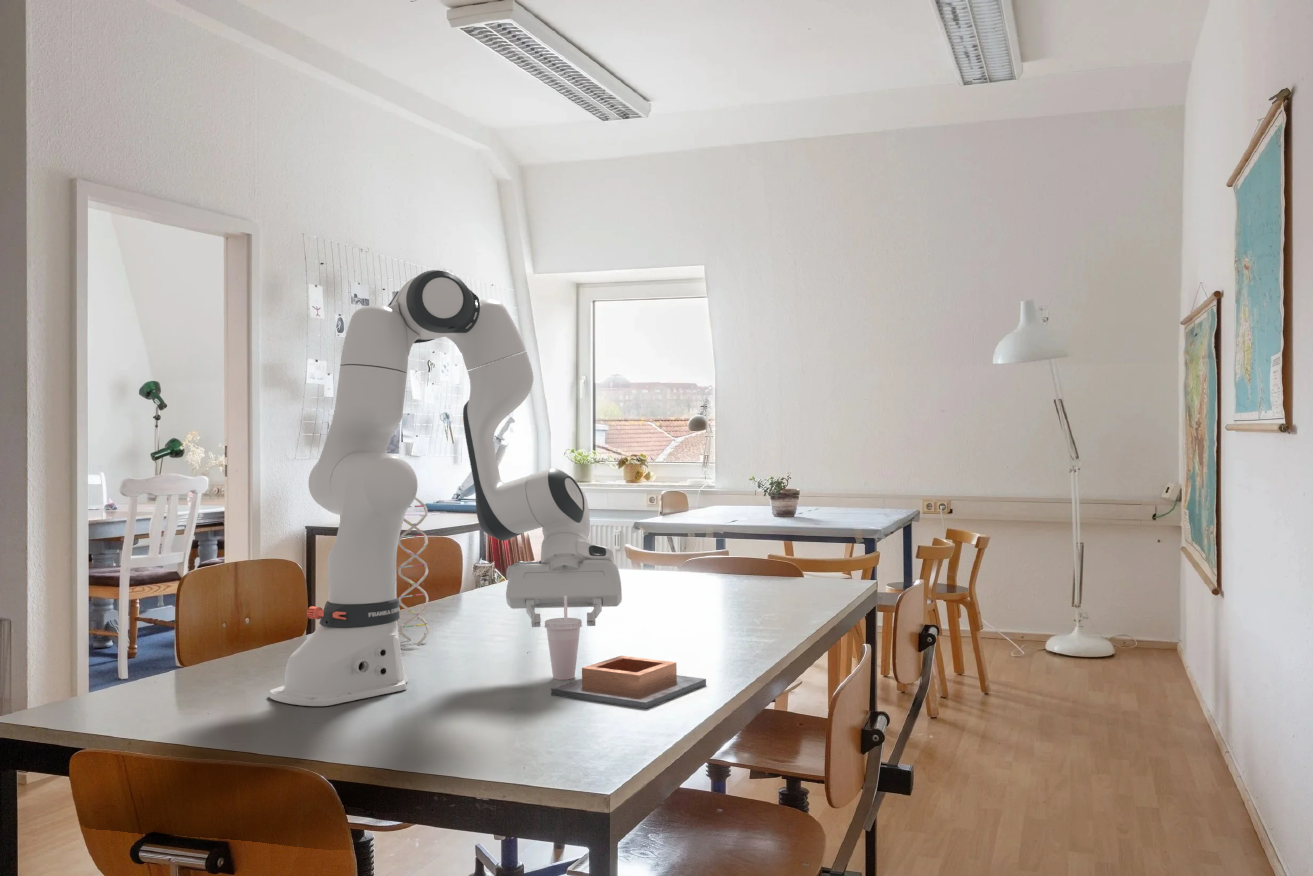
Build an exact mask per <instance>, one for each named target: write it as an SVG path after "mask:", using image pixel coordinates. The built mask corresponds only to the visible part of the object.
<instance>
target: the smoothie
mask: <svg viewBox="0 0 1313 876" xmlns="http://www.w3.org/2000/svg"><path fill="white" fill-rule="evenodd" d="M563 616H564V617H557V618H556V617H555V618H549V619H546V620H545V621H544V628H545V629H546V633H547V635H546V636H547V642H548V650H549V658H550V663H551V671H552V679H554V680H558V681H560V680H563V681H564V680H573V679H575V678H576V671H577V670H576V668H577V660H578V659H577V658H578V649H579V643H580V642H579V641H580V630H581V628H582V627H583V624H582V619H580V618H577V617H568V607H567V595H564V608H563Z"/></svg>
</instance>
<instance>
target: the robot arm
mask: <svg viewBox="0 0 1313 876" xmlns="http://www.w3.org/2000/svg"><path fill="white" fill-rule="evenodd" d="M441 338H447V339H448V340H450V341H452V343H454V345H456V347H457V348H458V350H459V352H460V354H461V355H462V359H463V362H464V365H465V367H466V371H467V374H468V377H469V384H470V389H469V390H470V391H469V397H468V398H469V399H468V400H467V401H466V403H465V404H464V405H463V411H462V421H463V427H464V428H463V429H464V436H465V442H466V448H467V453H468V458H469V465H470V469H471V474H472V480H473V486H474V492H475V493H474V494H475V511H476V516H477V521H478V523H479V526H480V528H481V530H482V531H483V532H484V533H485V534H487V535H488V536H490V537H491V538H494V539H496V540H498V541H502V542H505V541H507V540H510V539H513V538H515V537H518V536H521V535H522V534H524V533H527V532H530V531H534V530H537V529H540V528H541V529H542V531H541V532H542V535H543V540H542V542H541V545H540V547H541V548H540V550H541V552H540V560H531V561H530V560H529V561H523V560H522V561H521V560H519V561H515V563H513V564H510V565H509V566H508V567H507V569H506V572H505V573H506V574H505V575H506V577H505V578H506V580H507V584H506V591H505V598H506V604H507V605H508V607H509V608H511V609H513V610H515V609H517V610H518V609H525V610H526V614H527V615H528V617H529V618H530V619H531V627H532V628H541V622H542V621H541V620H542V618H541V613H536V612H535V610H536V609H552V608H553V609H555V608H561V609H562V608H563V609H564V595H567V608H593V610H592V611H591V612H586V626H587V627H595V626H596V619H597V618H598V617H599V615H600V614H601V612H602V611H603V610H602V608H604V607H605V608H607V607H618V606H619V605H620V604H621V603H622V602H623V601H622V599H623V594H622V593H623V592H622V581H621V575H620V571H619V568H618V566H617V564H616V563H615V557H614V552H613V549H612V548H610V547H607V546H602V545H598V544H595V543H592V542H591V543H590V542H589V536H590V532H591V520H590V519H591V518H590V511H589V510H590V509H589V504H588V500H587V496H586V494H585V492H584V490H583V489H582V488H581V487H580V485H579V484H578V483H577V481H576V480H575V479H574V478H573V477H572V476H571V475H569V474H568V473H566V472H565V471H563V470H561V469H558V468H555V467H552V468H548V469H545V470H541V471H538V472H534V473H530V474H529V475H527V476H523V477H520V478H516V479H514V480H511V481H507V482H503V481H502V480H501V476H500V470H499V464H498V459H497V453H496V447H495V442H494V439H495V438H494V437H495V433H496V430H497V428H498V426H499V425H500V424H501V423H502V421H504V419H506V418H507V417H508V416H509V415H510V414H512V413H513V412H514V411H515V410H516V409H517V408H518V407H519V406H520V405H522V404H523V403H524V401H525V400H526V399H527V397H528V396H529V394H530V393H531V390H532V388H533V383H534V374H533V373H534V372H533V368H532V364H531V360H530V358H529V355H528V352H527V349H526V347H525V344H524V342H523V339H522V337H521V334H520V332H519V330H518V328H517V325H516V324H515V322H514V320H513V318H512V317H511V315H510V313H509V311H508V310H507V308H506V306H505V305H504V304H502V302H500V301H497V300H495V299H494V300H493V299H480V298H479V297H478V295H477V294H476V293H475V292H473V291H472V290H471V289H470V288H469V287H468V286H467V285H466V283H465V282H464V281H463V280H462V279H461V278H460V277H458V276H457V275H456V274H454V273H452V272H450V271H447V270H443V269H431V270H427V271H424V272H422V273H420V274H419V275H417V276H416V277H413V278H412V279H410V280H408V281H407V282H406V283H405V284H404V285H403V286H402V287H401V289H400V290H399V291H398V292H397V293H396V294H395V295H394V297H393V298H392V299H391V301H390V302H389V303H388V305H382V304H369V305H366V306H365V305H364V306H363V307H359V308H358V309H357V310H355V312H354V313H353V314H352V315H351V318H350V321H349V323H348V327H347V330H346V334H345V337H344V341H343V346H342V349H341V350H342V352H341V357H340V363H339V364H340V365H339V371H338V373H339V374H338V380H337V381H338V382H337V390H336V397H335V406H334V411H333V416H332V419H331V423H330V426H329V429H328V432H327V435H326V439H325V442H324V445H323V448H322V451H321V454H320V457H319V459H318V460H317V462H316V464H315V465H313V468H312V469H311V471H310V472H309V477H308V489H309V493H310V495H311V497H312V499H313V500H314V501H315V503H316V504H317V505H319V506H320V507H322V508H323V509H324V510H326V511H327V512H330V513H332V514H335V515H338V516H340V520H339V525H338V529H337V532H336V537H335V541H334V543H333V546H332V547H331V548H330V549H329V551H328V555H327V588H328V589H327V592H328V593H327V594H328V596H327V597H328V598H327V599H328V600H327V601H326V602H325V605H324V607H320V606H318V607H317V606H309V607H308V609H307V610H306V614H307V615H306V616H307V617H308V619H311V620H314V619H315V620H319V627H317V628H316V629H315V630H314V632H312V634H311V635H309V636H308V638H306V640H305V641H304V642H303V643H301V645H299V646H298V647H297V649H296V650H294V652H293V653H291V655H290V656H289V657H288V659H287V662H286V667H285V670H284V671H285V672H284V682H283V684H284V685H281V686H279V687H276V688H272V689H270V690H269V698H270V699H271V700H274V701H276V702H280V703H284V704H290V705H297V706H303V707H304V706H305V707H306V706H307V707H328V706H334V705H339V704H344V703H347V702H353V701H356V700H362V699H367V698H371V697H377V696H380V695H385V694H391V693H396V692H401V691H404V690H407V682H408V677H407V673H406V669H405V666H404V662H403V658H402V657H403V656H402V648H401V642H400V641H401V640H400V636H399V635H400V634H399V628H398V627H399V626H398V625H399V624H398V620H399V619H400V616H401V615H400V610H401V609H400V607H401V606H400V604H399V597H398V596H397V556H398V546H399V545H398V542H399V537H400V535H401V531H402V528H403V524H404V523H403V522H404V521H403V520H404V519H405V516H406V513H407V511H408V509H409V508H410V507H409V506H412V504H413V502H414V500H415V496H416V497H417V492H418V478H417V475H416V472H415V471H414V469H413V467H412V466H411V465H410V463H408V462H407V461H406V460H404V459H402V458H401V457H398V456H396V455H394V454H391V453H389V452H387V449H388V447H389V444H390V441H391V439H392V436H393V434H394V432H395V431H396V430H397V428H398V426H399V425H400V424H401V421H402V419H403V416H404V406H405V396H406V388H407V387H406V386H407V379H408V378H407V376H408V365H409V363H408V362H409V356H410V353H411V349H412V347H413V345H414V344H421V343H427V342H430V341H434V340H436V339H441Z"/></svg>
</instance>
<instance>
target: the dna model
mask: <svg viewBox="0 0 1313 876" xmlns="http://www.w3.org/2000/svg"><path fill="white" fill-rule="evenodd" d="M414 500H415V501H416V502H417V503H419V505H418V504H417V505H414V508H423V510H424V515H422V517H421V518H420V519H419V520H418V521H417V522H415V523H412V522H411V521H409V520H407V519H405V518H404V520H403V522H404V523H406V524H407V525H408V526H410V527H409V528H408V529H406V530H405V531H404V532H403V533H402V534H400V537H399V542H398V546H399V547H400V549H401V550H403V551H404V552H405V553H407V554H408V555H410V558H408V559H406V561H404V562H403V563H402V564H401V565H399V567H398V569H397V572H398V575H399V577H400V578H402V579H403V580H404V581H406V582H407V583H409V584H410V585H411V587H409V588H408V589H406V590H405V591H403V593H401V595H399V597H398V598H399V606H400V607H402V608H404V609H405V610H406V611H408V612H409V613H411V614H413V615H412V616H411V617H410V618H407V620H406V621H404V622H403V623H402V624H401V625H400V626H398V627H399V628H398V634H399V635H401V637H402V638H404V639H407V640H408V641H411V640H412V639H411V638H410V637H409V636H407V635H406V634H405V633H404V632H402V630H403V628H411V627H412V628H413V627H422V626H425V629H426V630H425V632H424V634H423V636H422V638H421V639H420V640H419V641H418V642H417V643H416V645H418V646H419V645H420V644H422V643H423V642H424V641H425V640H426V638H427V636H428V635H429V633H430V632H429V631H430V625H429V623H428V622H427V621H426V619H425V618H424V617H423V616H421V615H420V614H421V613H423V612H424V611H425V610H426V608H427V606H428V604H429V595H428V593H427V591H425V590H424V589H423V588H422V587H421V586H420V584H421V583H423V582H424V580H425V579H426V578H427V576H428V574H429V568H428V564H429V563H428V562H425V560H423V559H422V558H420V557H419V555H420V554H421V553H422V552H424V550H425V549H426V548H427V546H428V544H429V538H428V536H427V534H426V533H425V532H424V531H422V529H420V528H419V527H417V526H419V525H420V524H421V523H422V522H423V521H425V519H426V517H427V516H428V510H429V509H428V508H427V504H426V503H424V502H423V501H422V500H421V499H419V498H418V497H417V495H416V496H415V499H414ZM409 508H413V505H410V506H409ZM414 529H415V530H416V533H420V534H415V535H407V534H408V533H411V532H412V530H414ZM412 537H414V538H416V537H423V538H424V544H423V546H422V547H421V548H420V550H418V551H417V553H414V552H412V550H409V549H407V548H406V547H405V546H404V545H403V544H402V538H412ZM414 559H417V560H418V562H419V563H420V564H414V565H413V564H412V565H410V564H409V565H407V564H408V563H412V562H413V561H412V560H414ZM423 566H424V569H425V571H424V573H423V576H422V577H421V578H420V579H419V580H418V581H417V582H415V581H412V579H409V578H408V577H406V576H404V575H403V574H402V571H401V570H402V569H405V568H414V567H423ZM415 588H416V589H418V590H419V591H420V592H421V593H418V594H417V593H416V594H410V595H409V594H408V593H410V592H412V590H414V589H415ZM407 594H408V595H407ZM415 596H424V597H425V603H424V604H423V606H422V608H421V609H420V610H418V611H417V612H416V611H414V610H413V609H411V608H409V607H408V606H406V604H404V602H403V601H402V599H404V598H412V597H415ZM414 619H416V620H420V621H421V622H422V623H419V624H413V625H407V624H409V623H410V622H411V621H412V620H414Z"/></svg>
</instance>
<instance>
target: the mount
mask: <svg viewBox="0 0 1313 876" xmlns="http://www.w3.org/2000/svg"><path fill="white" fill-rule="evenodd" d="M705 686H707V679H706V678H703V677H702V678H701V677H693V676H686V675H679V674H678V671H677V662H676V661H669V660H660V659H653V658H643V657H635V656H634V657H633V656H626V655H620V656H616V657H613V658H612V657H611V658H609V659H606V660H603V661H600V662H596V663H594V664H590V665H587V666H583V667H581V678H580V679H576V680H573V681H570V682H567V683H565V684H561V685H558V686H554V687H551V689H550V691H551V693H550V694H551V696H558V697H563V698H571V699H575V700H584V701H589V702H597V703H604V704H609V705H616V706H623V707H627V708H628V707H630V708H637V709H642V710H648V709H650V708H653V707H654V706H657V705H660V704H663V703H665V702H667V701H670V700H672V699H675V698H678V697H680V696H682V695H685V694H687V693H689V692H692V691H695V690H697V689H700V688H702V687H705Z"/></svg>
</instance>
